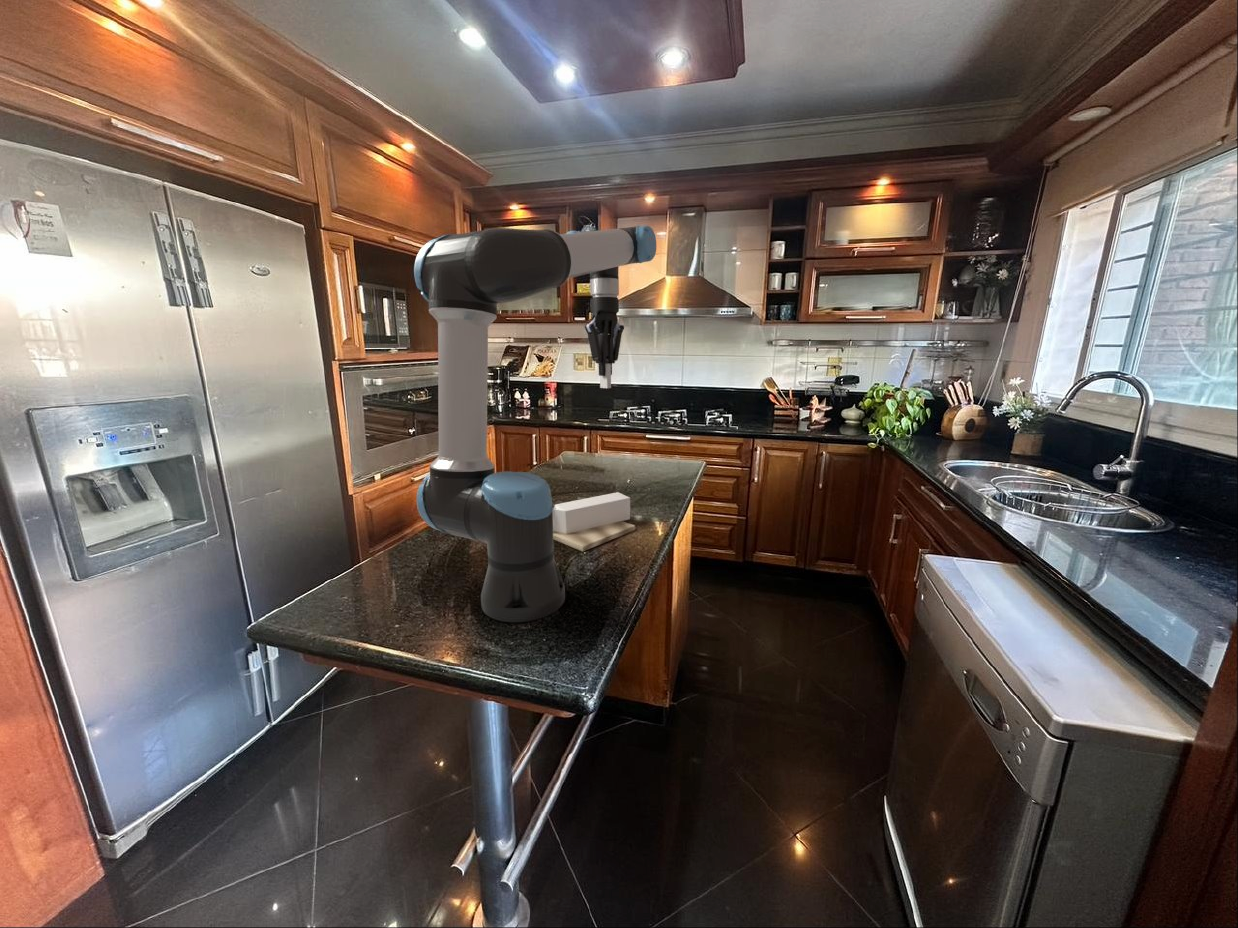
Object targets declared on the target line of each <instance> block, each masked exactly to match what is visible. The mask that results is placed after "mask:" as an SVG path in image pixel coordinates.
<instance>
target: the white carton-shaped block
mask: <svg viewBox="0 0 1238 928" xmlns="http://www.w3.org/2000/svg"><path fill="white" fill-rule="evenodd" d="M628 520H631V497H629V496H627V495H625V494H623V493H621V492H618V491H616V492H612V493H607V494H602V495H598V496H590V497H587V498H580V499H577V500H571V501H566V502H561V503H557V504H554V505H553V532H558V533H563V534H569V533H573V532H577V531H582V530H586V529H590V528H594V527H599V526H603V525H607V524H611V523H616V522H620V521H623V522H625V521H628Z"/></svg>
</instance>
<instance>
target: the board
mask: <svg viewBox="0 0 1238 928" xmlns="http://www.w3.org/2000/svg"><path fill="white" fill-rule="evenodd" d="M635 530H636V525H635V524H632V523H628V522H625V521H620V522H616V523H611V524H607V525H603V526H599V527H594V528H590V529H586V530H582V531H577V532H573V533H569V534H563V533H558V532H553V541H554V540H555V542H559V543H560V544H561V543H562V544H564V545H566V546H569V547H571V548H573V549H576V550H578V551H581V552H586V551H587V550H590V549H592V548H595V547H598V546H599V545H602V544H605V543H606V542H607V543H608V542H609V541H611V540H613V539H616V538H619V537H622V536H624V535H626V534H629V533H630V532H633V531H635Z"/></svg>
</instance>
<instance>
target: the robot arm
mask: <svg viewBox="0 0 1238 928" xmlns="http://www.w3.org/2000/svg"><path fill="white" fill-rule="evenodd" d="M653 229H654V228H652V227H651V226H650V225H636V226H630V227H629V226H628V227H620V228H610V229H600V230H590V231H581V230H578V231H577V230H569V231H567V232H565V233H562V234H559V232H557V231H555V230H553V229H523V228H509V227H508V228H505V227H504V228H500V227H498V228H497V227H494V228H487V229H483V230H476V231H470V232H469V231H468V232H463V233H458V234H457V233H456V234H453V233H452V234H451V233H450V234H444V235H442V236H439V237H437V238H434V239H431V240H429V241H427V242H426V243H425V244H424V245H422V247H420V250H419V251H418V253H417V255H416V257H415V261H414V267H413V274H414V281H415V285H416V287H417V289H418V290H420V294H421V296H422V298H423V299H424V300H425V301H427V302H428V313H429V314H430V315H431V316H432V317H433V319H434V320H436V322H437V339H438V340H437V341H438V342H437V343H438V344H437V351H438V352H437V353H438V354H437V355H438V357H437V358H438V359H437V361H438V362H437V365H438V366H437V367H438V371H437V374H438V375H437V376H438V377H437V378H438V379H437V383H438V387H437V388H438V393H437V397H438V398H437V399H438V401H437V402H438V407H437V408H438V413H437V414H438V456H437V457H436V458H435V459H434V460H433V461H432V462H431V463H430V465H429V473H428V474H427V475H426V476H425V477H424V478H423V479H422V483H421V484H420V485H419V486H418V489H417V493H416V506H417V511H418V514H419V516H420V517H421V519H422V520H423V522H424V523H425V524H427V526H429V527H430V528H432V529H434V530H437V531H440V533H443V534H446V535H448V536H449V535H451V536H457V537H461V538H465V539H470V540H474V541H478V542H482V543H485V544H486V548H487V562H488V563H487V564H488V565H487V568H486V569H487V570H486V574H485V577H484V582H483V584H482V585H483V586H482V588H481V592H480V603H481V604H480V605H481V609H482V611H483V613H484V614H485V615H486V616H487V617H489V618H491V619H492V620H496V621H499V622H505V623H526V622H532V621H536V620H541V619H542V618H546V617H548V616H550V615H552V614H553V613H555V612H556V611H558V610H559V609H560V608H562V606H563V604H564V603H565V600H566V589H565V588H566V587H565V582H564V580H563V577H562V575H561V573H560V570H559V568H558V565H557V563H556V560H555V547H554V546H555V545H554V539H553V509H554V504H553V499H552V493H551V492H552V491H551V488H550V485H549V483H548V482H547V481H546V480H545V479H544V478H542V477H541V476H538V475H536V474H533V473H530V472H524V471H512V470H509V471H507V470H505V471H498V472H496V468H495V467H496V465H495V464H494V463H493V461H491V459H490V458H488V456H487V455H488V373H489V371H488V369H489V367H488V364H489V363H488V360H489V359H488V358H489V357H488V356H489V353H488V350H489V343H488V342H489V327H490V326H491V324H493V322H494V321H496V320H497V316H498V315H497V314H498V304H504V303H511V302H517V301H518V300H521V299H525V298H529V297H531V296H534V295H537V294H539V293H542V292H546V291H549V290H552V289H556V288H559V287H561V286H563V285H564V284H565V283H566V282H567V280H569V279H571V278H575V277H580V276H585V275H587V274H589V288H590V289H589V293H590V296H591V298H590V299H589V300H590V301H589V303H590V307H589V308H590V312H591V313H592V316H591V320H590V322H589V323H588V324H584V329H585V332H586V334H587V338H588V342H589V349H590V354H591V359H592V361H593V362H595V363H596V364H598V376H599V384H600V385H599V388H600V389H611V388H612V375H613V364H615V363H616V362H617V361H618V359H619V354H620V347H621V343H622V342H621V341H622V340H621V339H622V335H623V332H624V330H625V326H624V325H623V324H620V323H619V319H618V316H617V314H618V313H619V312H620V299H619V297H618V296H619V295H620V280H619V271H620V270H619V267H620V266H621V267H623V266H627V265H633V264H642V263H646V262H651V261H653V259H654V258H655V256H656V254H657V253H656V252H657V238H656V233H655V231H654V230H653Z"/></svg>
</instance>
